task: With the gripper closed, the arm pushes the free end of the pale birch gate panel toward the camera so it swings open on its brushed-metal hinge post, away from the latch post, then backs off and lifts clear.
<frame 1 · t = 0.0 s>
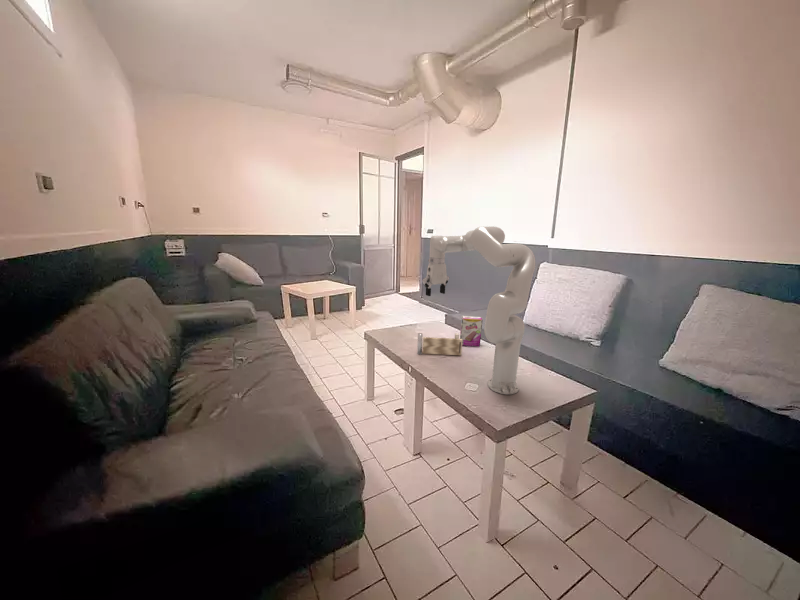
hand: (435, 294, 161), 31 cm above the table, tool pointing down, fingers open, 9 cm apart
latch post: (455, 353, 166), on the table
gate: (442, 346, 163), point 5 cm above the table, hinge at 0.0°
hinge post: (419, 353, 165), on the table
candy bar box: (469, 345, 178), on the table
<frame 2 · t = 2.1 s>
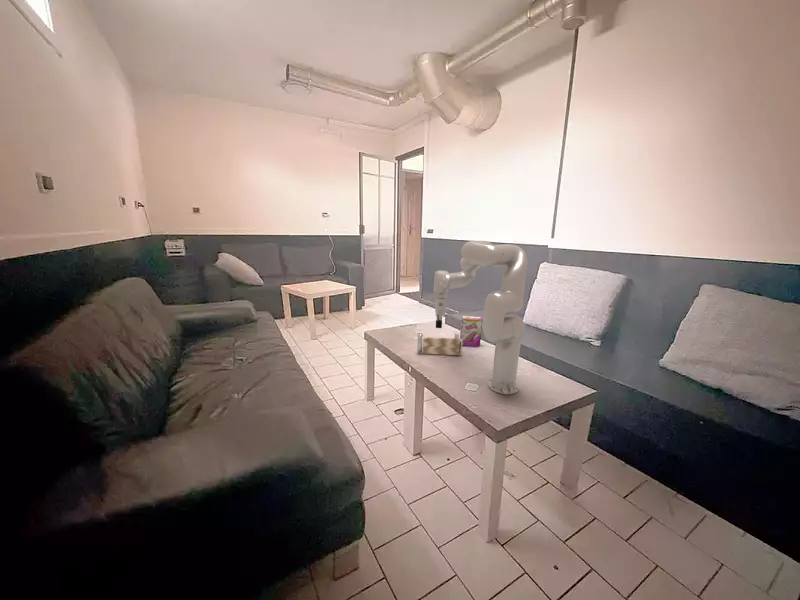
hand: (438, 327, 169), 12 cm above the table, tool pointing down, fingers closed
nothing on the table moved.
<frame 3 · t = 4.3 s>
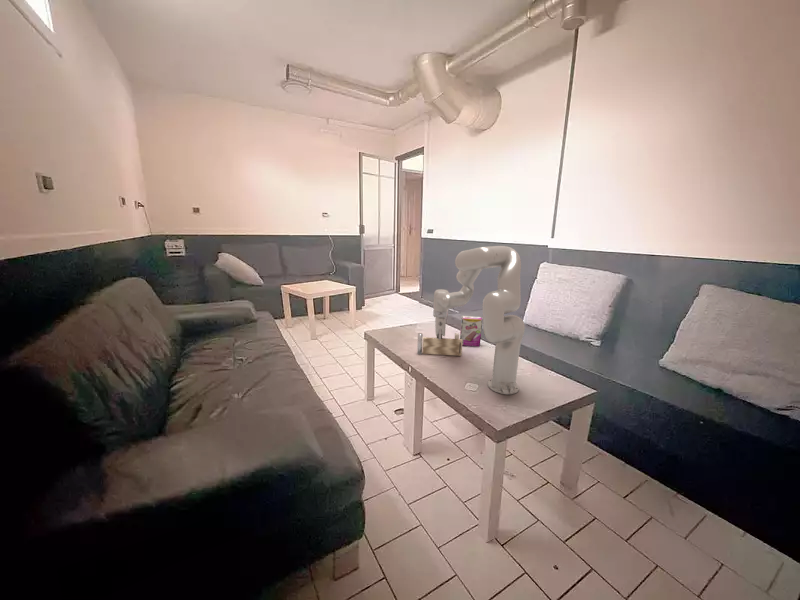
hand: (438, 346, 168), 3 cm above the table, tool pointing down, fingers closed
gate: (442, 346, 163), point 5 cm above the table, hinge at -1.4°, touching gripper
everything else where it was.
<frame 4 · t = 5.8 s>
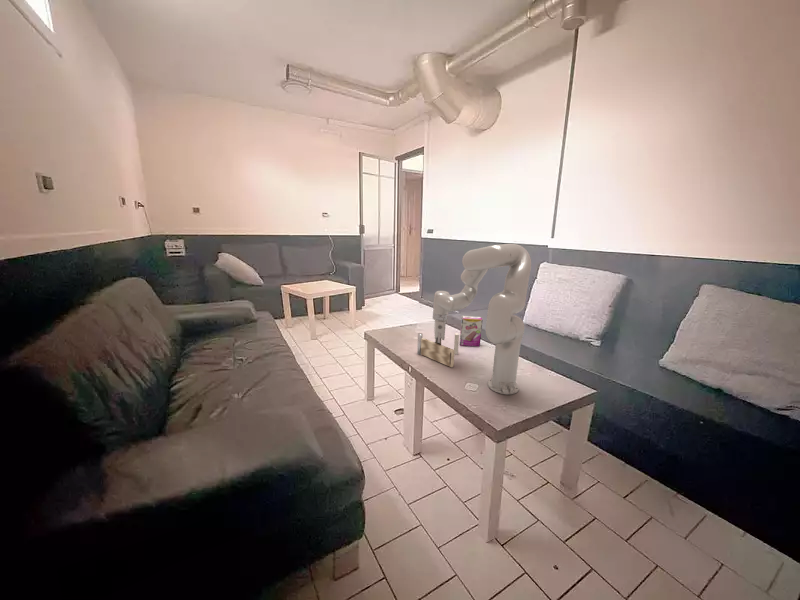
hand: (437, 349, 160), 4 cm above the table, tool pointing down, fingers closed
gate: (436, 352, 156), point 5 cm above the table, hinge at -42.5°
everything else where it was.
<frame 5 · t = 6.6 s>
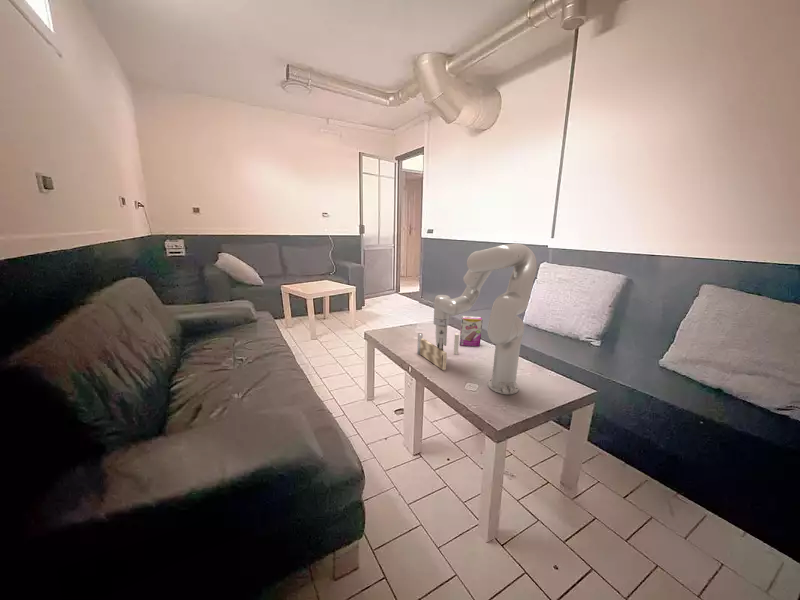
hand: (439, 356, 155), 3 cm above the table, tool pointing down, fingers closed
gate: (432, 353, 154), point 5 cm above the table, hinge at -56.5°, touching gripper
everything else where it was.
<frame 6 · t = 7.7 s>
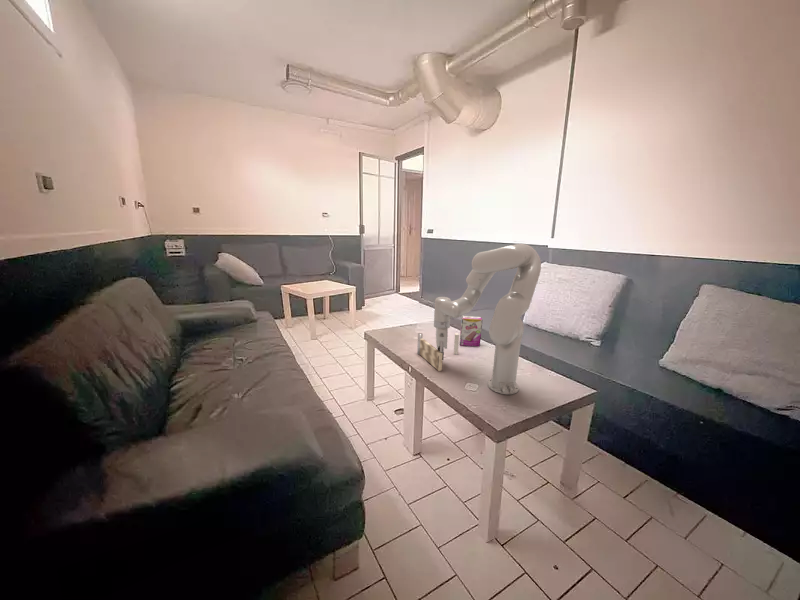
hand: (439, 359, 152), 3 cm above the table, tool pointing down, fingers closed
gate: (430, 353, 154), point 5 cm above the table, hinge at -62.6°, touching gripper
everything else where it was.
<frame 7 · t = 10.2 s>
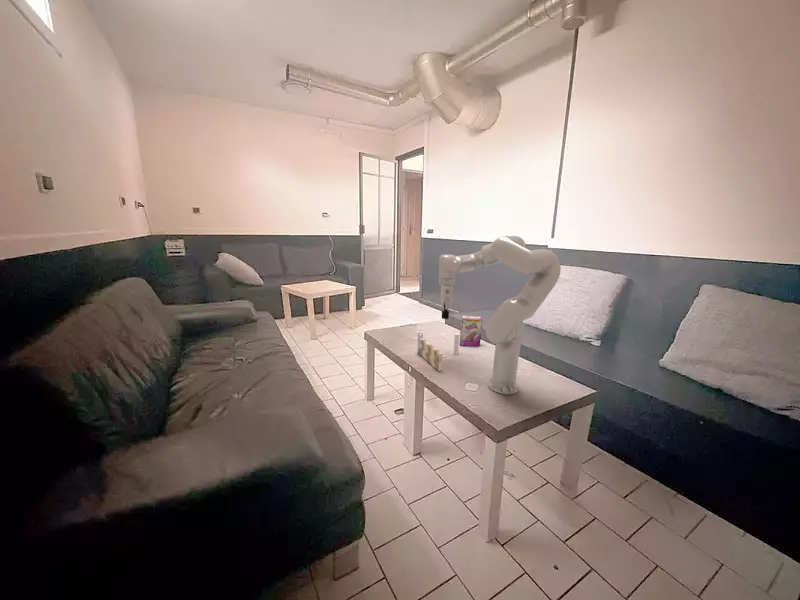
hand: (445, 318, 152), 22 cm above the table, tool pointing down, fingers closed
gate: (430, 353, 154), point 5 cm above the table, hinge at -62.7°
everything else where it was.
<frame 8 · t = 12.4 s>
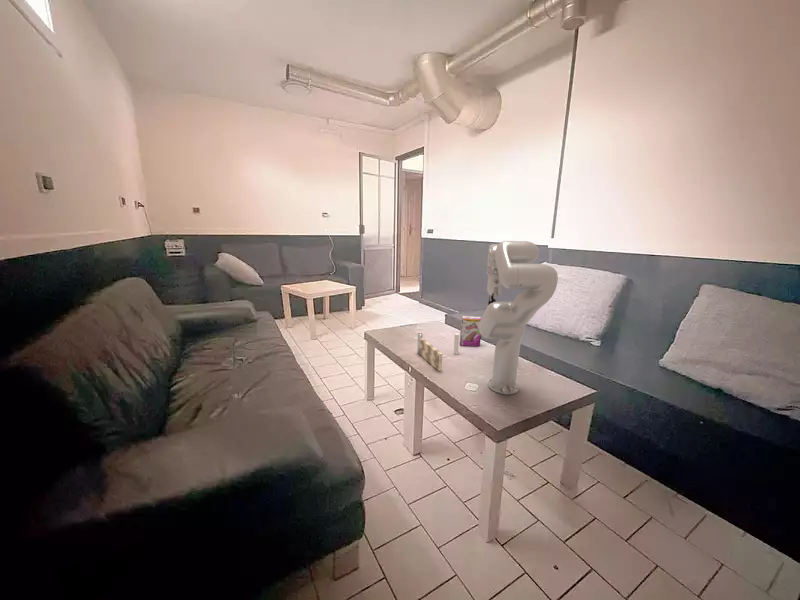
hand: (491, 308, 152), 27 cm above the table, tool pointing down, fingers closed
nothing on the table moved.
at the end: gate at -63° (first picture: +0°); candy bar box moved 0.2 cm from its start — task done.
